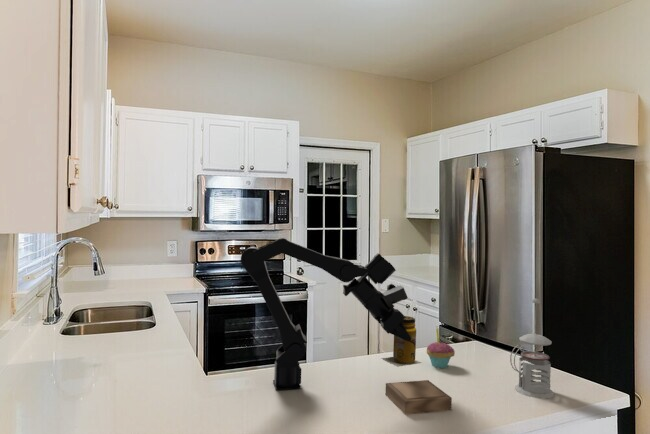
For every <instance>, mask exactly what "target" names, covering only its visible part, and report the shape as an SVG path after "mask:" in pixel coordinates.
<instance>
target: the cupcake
mask: <svg viewBox="0 0 650 434" xmlns="http://www.w3.org/2000/svg"><path fill="white" fill-rule="evenodd" d="M455 352H456V351H455V349H454V348H453V347H452V346H451V345H450V344H449V343H444V342H440V332H439V328H438V327H436V342H435V341H434V342H432V343H430V344H429V345H428V346H427V347H426V354H427V355H428V357H429V360H430V364H431V366H432V367H435V368H437V369H438V368H439V369H445V368H448V365H449V363H450V360H451V358H453V357H454V356H455V354H456V353H455Z"/></svg>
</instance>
